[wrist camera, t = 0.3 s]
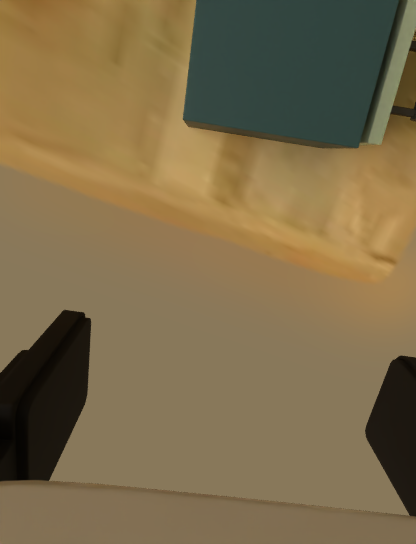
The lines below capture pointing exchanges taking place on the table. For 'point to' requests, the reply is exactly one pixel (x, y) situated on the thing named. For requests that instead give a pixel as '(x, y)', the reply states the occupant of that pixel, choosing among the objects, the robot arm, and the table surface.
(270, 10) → the small teal cabinet
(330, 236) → the table surface
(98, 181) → the table surface
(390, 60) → the drawer
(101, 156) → the table surface
